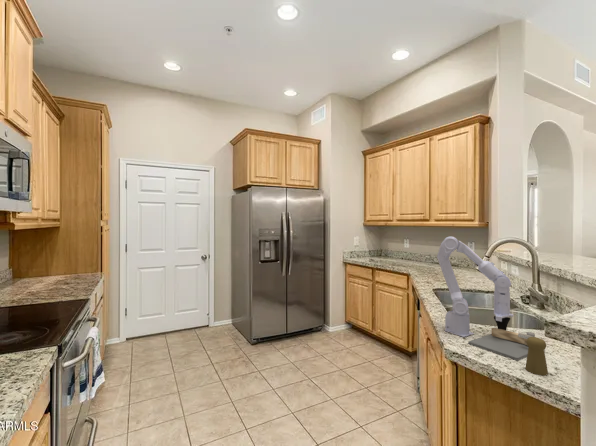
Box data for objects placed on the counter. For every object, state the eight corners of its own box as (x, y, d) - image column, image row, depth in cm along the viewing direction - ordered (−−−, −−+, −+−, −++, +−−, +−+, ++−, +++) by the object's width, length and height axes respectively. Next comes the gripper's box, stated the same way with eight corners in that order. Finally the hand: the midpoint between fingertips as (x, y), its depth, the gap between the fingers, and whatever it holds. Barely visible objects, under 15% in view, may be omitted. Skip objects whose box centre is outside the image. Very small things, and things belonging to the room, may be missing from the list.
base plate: (468, 343, 124) (468, 329, 124) (494, 335, 134) (494, 321, 134) (517, 360, 108) (517, 344, 108) (543, 349, 118) (543, 334, 118)
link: (539, 345, 119) (539, 337, 119) (535, 347, 116) (535, 340, 116) (494, 333, 131) (494, 327, 131) (490, 336, 129) (490, 329, 129)
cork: (537, 366, 104) (537, 334, 104) (553, 375, 98) (552, 341, 98) (520, 367, 104) (520, 335, 104) (535, 375, 97) (534, 341, 98)
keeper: (518, 346, 118) (518, 333, 118) (520, 345, 119) (520, 332, 119) (533, 351, 114) (533, 337, 114) (535, 350, 115) (535, 336, 115)
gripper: (510, 307, 121) (510, 341, 121) (516, 301, 131) (516, 332, 131) (489, 304, 126) (489, 336, 126) (497, 298, 136) (497, 328, 136)
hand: (502, 334), depth 129 cm, fingers closed, pressing on link
